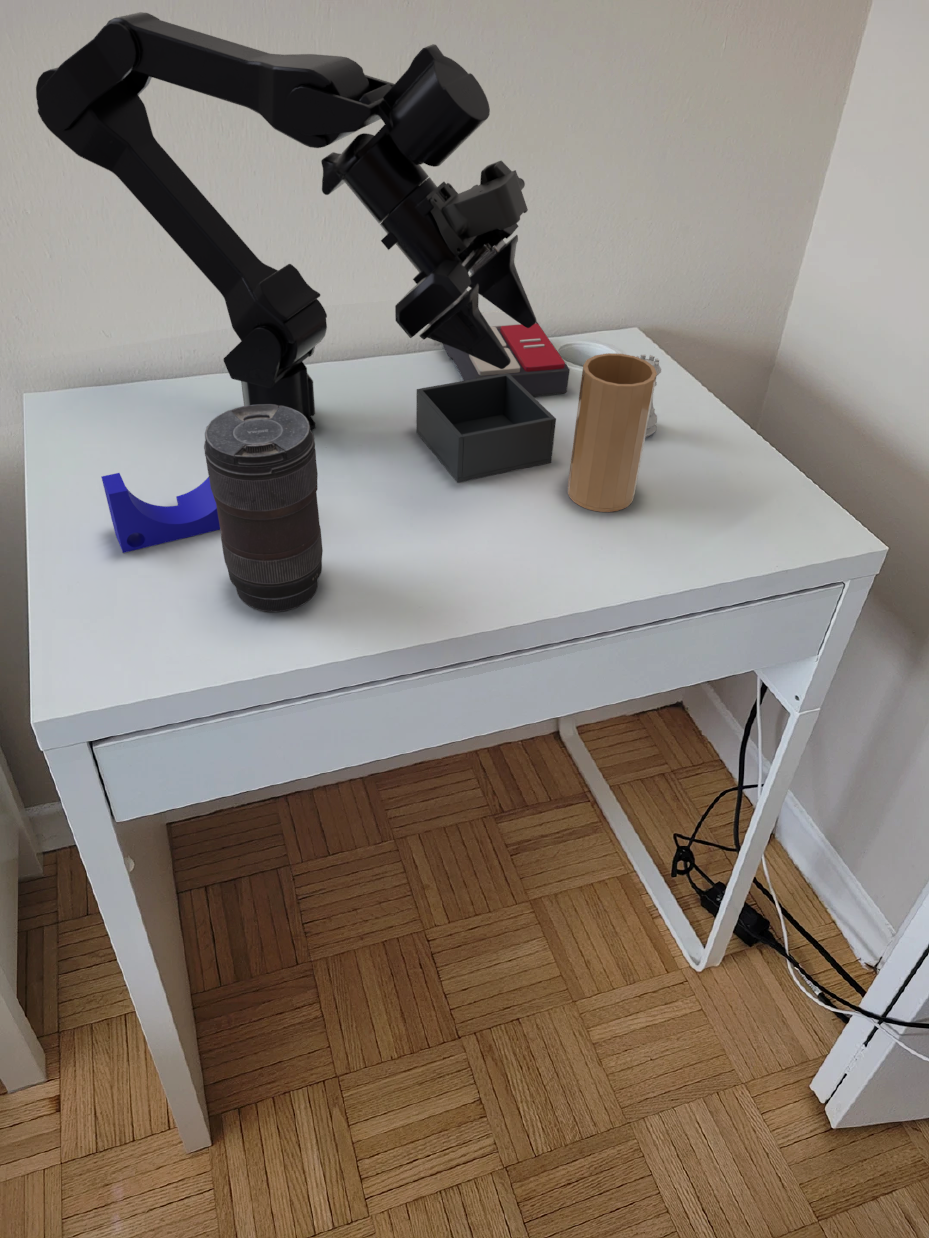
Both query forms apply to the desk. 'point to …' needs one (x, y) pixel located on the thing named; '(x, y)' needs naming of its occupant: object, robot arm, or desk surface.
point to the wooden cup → (610, 431)
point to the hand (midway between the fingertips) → (520, 344)
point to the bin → (484, 426)
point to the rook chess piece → (652, 416)
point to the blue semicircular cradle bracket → (158, 515)
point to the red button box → (518, 357)
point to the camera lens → (266, 503)
